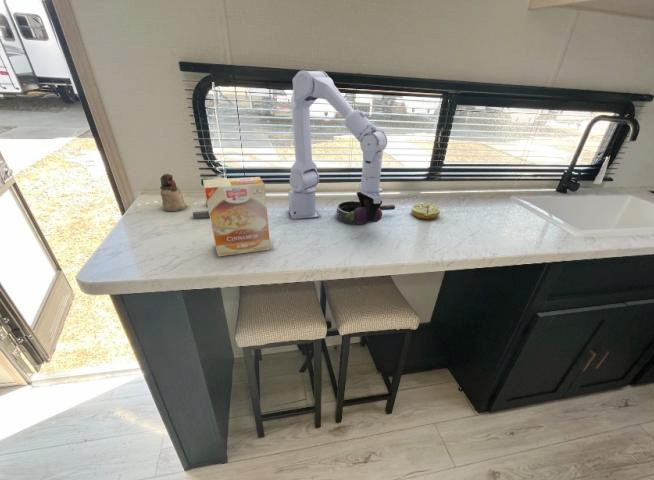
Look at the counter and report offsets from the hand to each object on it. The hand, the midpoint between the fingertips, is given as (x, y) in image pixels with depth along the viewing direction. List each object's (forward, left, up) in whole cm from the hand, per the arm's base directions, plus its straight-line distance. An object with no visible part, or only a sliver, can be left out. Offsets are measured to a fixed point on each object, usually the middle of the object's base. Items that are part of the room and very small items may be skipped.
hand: (367, 217), depth 109 cm
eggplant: (-1, 0, -2) cm, 2 cm away
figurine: (-62, +32, -6) cm, 70 cm away
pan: (0, +13, -5) cm, 14 cm away
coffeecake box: (-40, -4, -6) cm, 41 cm away
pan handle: (+11, +13, -3) cm, 17 cm away
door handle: (-47, +25, -6) cm, 54 cm away
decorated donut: (+28, +11, -6) cm, 31 cm away
